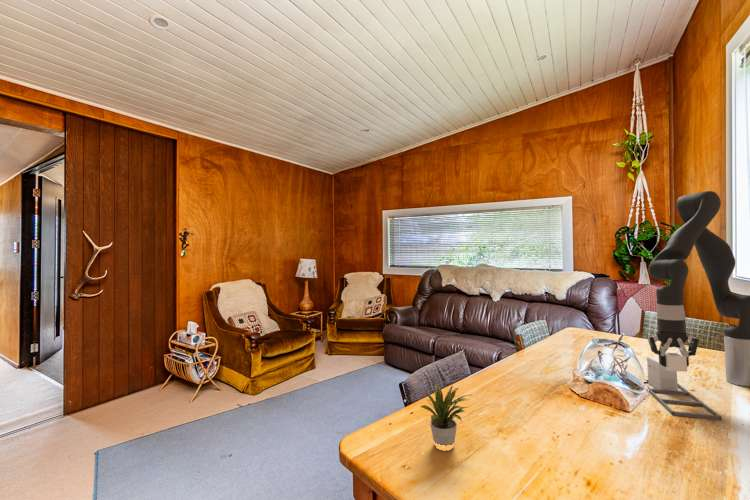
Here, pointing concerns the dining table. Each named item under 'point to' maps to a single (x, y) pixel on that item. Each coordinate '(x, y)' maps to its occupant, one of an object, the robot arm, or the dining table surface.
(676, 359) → the white and grey cube
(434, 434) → the house plant
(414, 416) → the dining table surface
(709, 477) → the dining table surface
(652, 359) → the small box
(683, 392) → the frame
